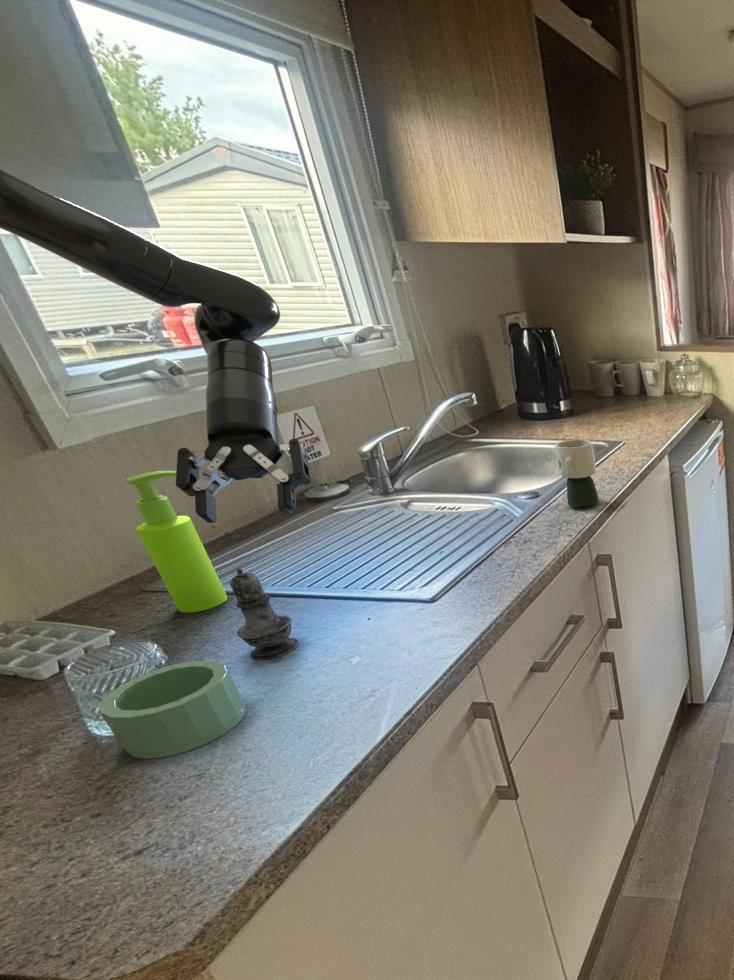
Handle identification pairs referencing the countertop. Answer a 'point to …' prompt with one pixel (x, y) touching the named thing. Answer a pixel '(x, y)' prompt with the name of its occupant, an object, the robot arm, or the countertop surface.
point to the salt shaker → (261, 619)
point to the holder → (173, 709)
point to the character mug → (578, 471)
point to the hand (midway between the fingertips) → (247, 516)
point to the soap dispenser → (176, 549)
